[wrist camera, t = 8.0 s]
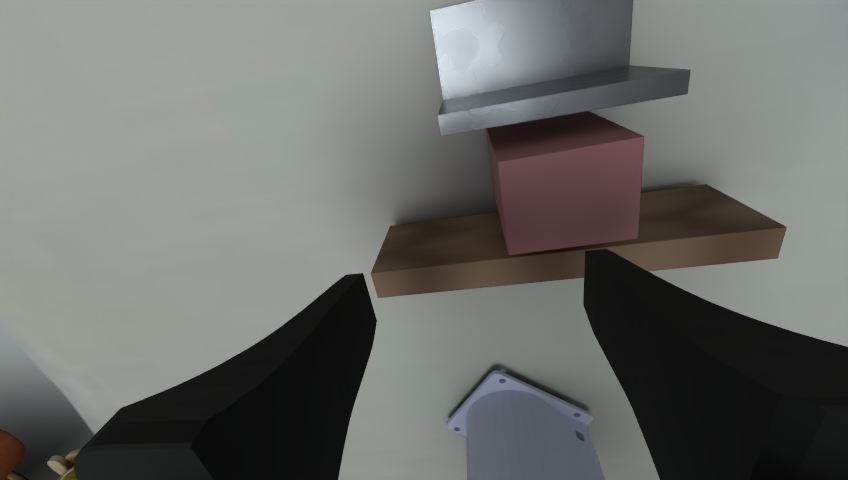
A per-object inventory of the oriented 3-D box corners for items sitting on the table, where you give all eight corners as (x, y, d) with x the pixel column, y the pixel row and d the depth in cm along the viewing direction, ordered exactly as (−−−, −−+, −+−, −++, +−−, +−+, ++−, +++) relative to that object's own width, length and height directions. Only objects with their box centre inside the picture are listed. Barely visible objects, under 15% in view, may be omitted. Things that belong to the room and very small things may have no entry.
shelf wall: (706, 184, 20) (786, 227, 15) (701, 209, 20) (777, 258, 15) (390, 226, 23) (370, 273, 18) (395, 246, 23) (378, 297, 18)
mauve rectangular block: (583, 108, 19) (644, 136, 12) (583, 182, 20) (637, 238, 14) (486, 127, 19) (497, 162, 13) (494, 196, 21) (508, 255, 15)
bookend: (632, -35, 16) (709, -75, 11) (625, 82, 18) (687, 94, 13) (430, 11, 17) (418, -5, 12) (445, 115, 19) (440, 136, 14)
